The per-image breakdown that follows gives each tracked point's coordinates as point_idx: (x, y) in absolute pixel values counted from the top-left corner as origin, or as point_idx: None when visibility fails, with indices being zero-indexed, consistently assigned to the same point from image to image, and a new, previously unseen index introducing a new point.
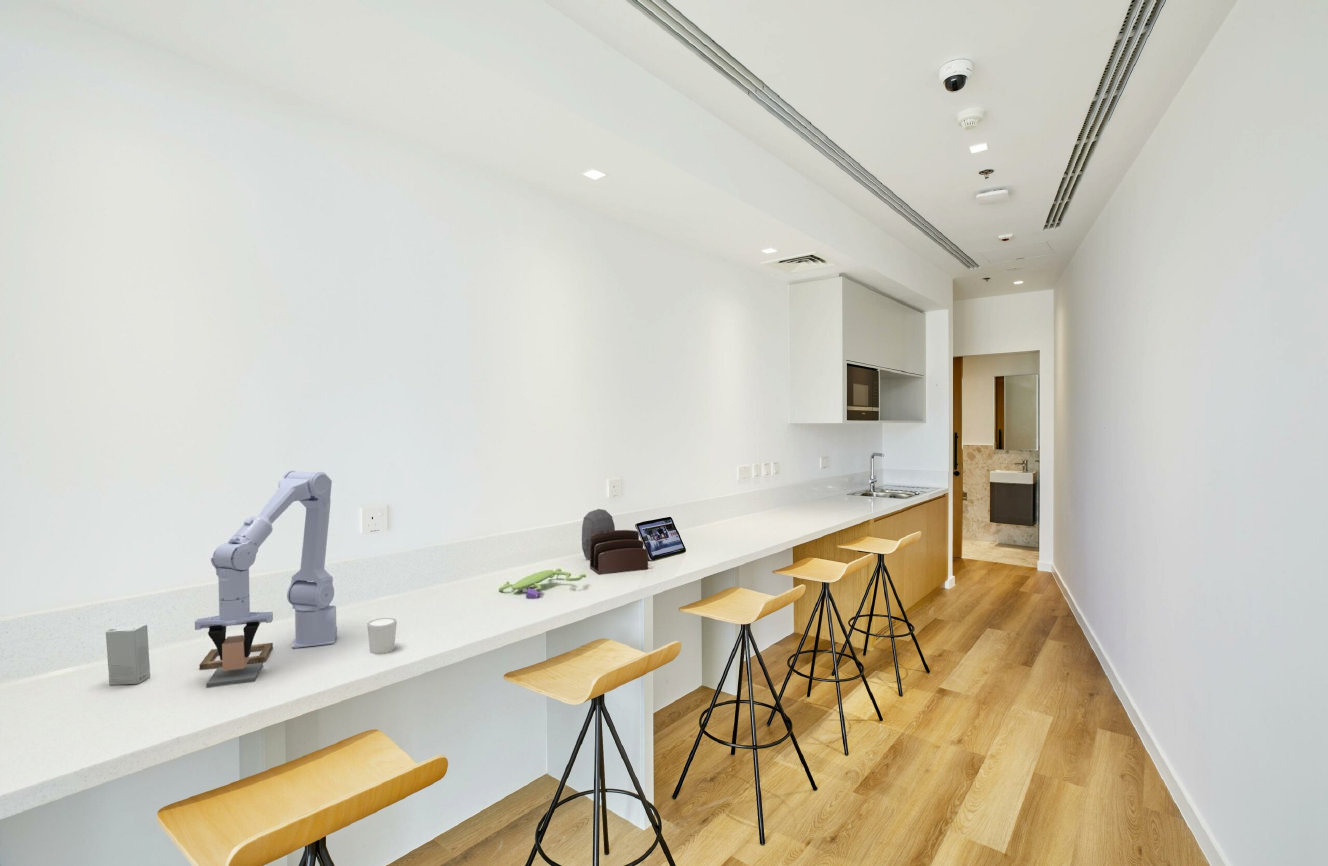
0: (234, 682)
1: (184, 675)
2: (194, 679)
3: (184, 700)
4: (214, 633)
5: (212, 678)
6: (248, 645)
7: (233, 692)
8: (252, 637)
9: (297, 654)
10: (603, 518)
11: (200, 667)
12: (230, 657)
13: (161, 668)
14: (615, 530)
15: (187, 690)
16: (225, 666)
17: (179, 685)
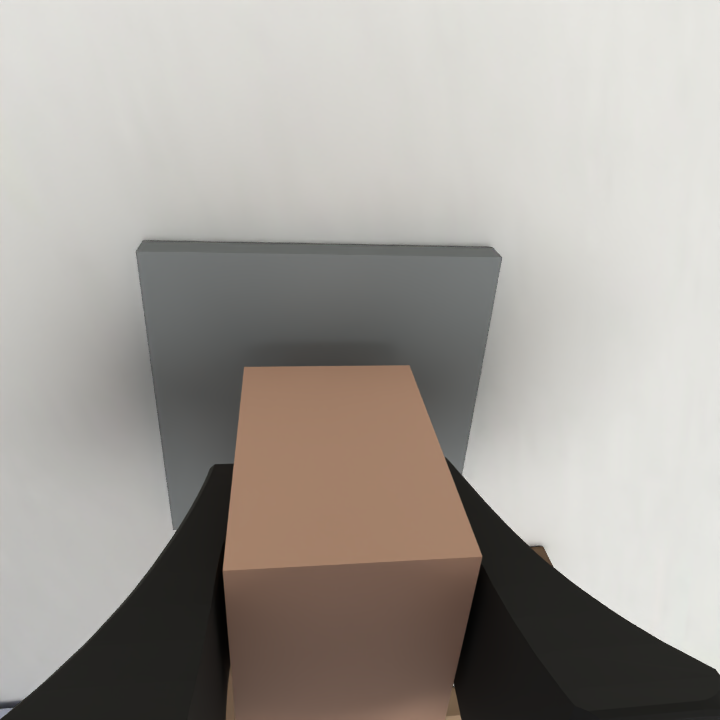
0: (299, 248)
1: (616, 495)
2: (567, 422)
3: (638, 12)
4: (662, 700)
5: (467, 352)
6: (179, 544)
7: (263, 28)
8: (95, 633)
9: (4, 629)
10: None
11: (544, 558)
12: (362, 437)
13: (707, 604)
14: None
15: (609, 241)
16: (393, 386)
17: (649, 354)
